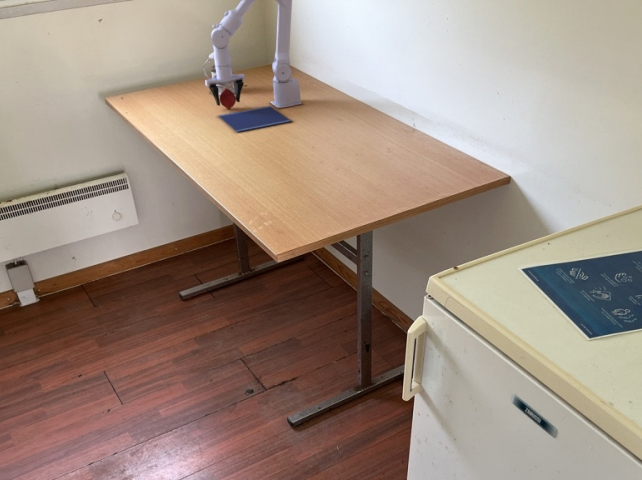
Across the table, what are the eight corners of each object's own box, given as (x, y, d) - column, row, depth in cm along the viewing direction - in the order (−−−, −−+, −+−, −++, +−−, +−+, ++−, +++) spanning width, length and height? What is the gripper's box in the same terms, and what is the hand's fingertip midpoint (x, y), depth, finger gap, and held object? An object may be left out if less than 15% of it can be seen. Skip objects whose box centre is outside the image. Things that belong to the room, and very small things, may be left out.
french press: (234, 94, 261) (225, 26, 246) (204, 95, 261) (194, 27, 246) (237, 87, 268) (229, 20, 254) (209, 88, 269) (199, 21, 254)
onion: (238, 106, 248) (235, 84, 244) (234, 111, 244) (232, 89, 239) (223, 106, 249) (220, 85, 244) (219, 111, 244) (216, 89, 240)
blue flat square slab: (269, 107, 247) (269, 105, 247) (291, 122, 232) (291, 120, 232) (218, 116, 240) (218, 115, 240) (238, 132, 225) (237, 131, 225)
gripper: (238, 59, 242) (242, 97, 250) (200, 65, 237) (206, 103, 245) (245, 63, 237) (249, 101, 245) (206, 69, 232) (212, 108, 240)
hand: (228, 103), depth 245 cm, fingers open, 7 cm apart
